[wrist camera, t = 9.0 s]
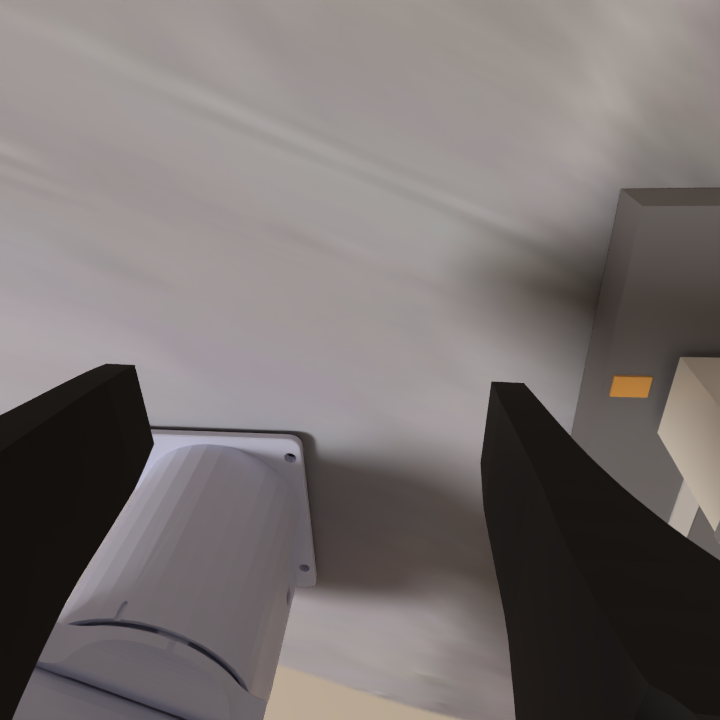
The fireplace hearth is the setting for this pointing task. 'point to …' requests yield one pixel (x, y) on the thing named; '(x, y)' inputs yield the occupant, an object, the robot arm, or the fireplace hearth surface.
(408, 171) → the fireplace hearth surface
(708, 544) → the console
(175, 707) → the robot arm
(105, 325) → the fireplace hearth surface
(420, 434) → the fireplace hearth surface
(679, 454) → the fader
